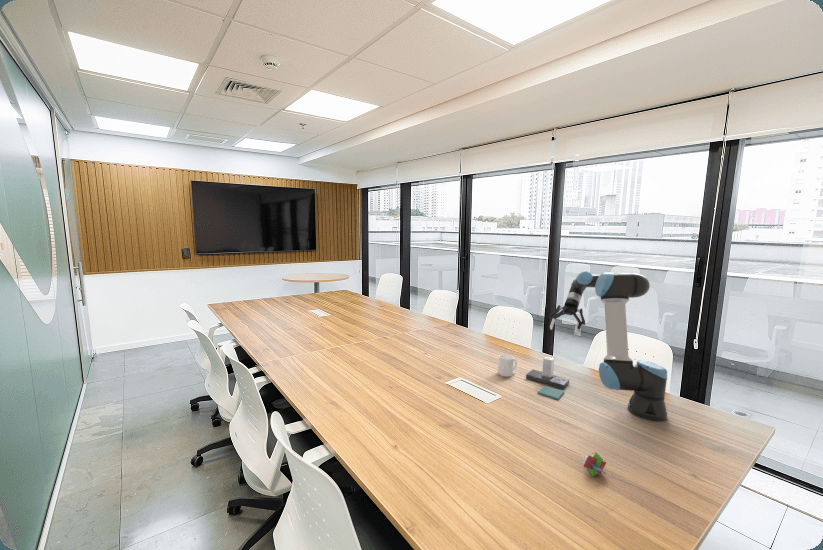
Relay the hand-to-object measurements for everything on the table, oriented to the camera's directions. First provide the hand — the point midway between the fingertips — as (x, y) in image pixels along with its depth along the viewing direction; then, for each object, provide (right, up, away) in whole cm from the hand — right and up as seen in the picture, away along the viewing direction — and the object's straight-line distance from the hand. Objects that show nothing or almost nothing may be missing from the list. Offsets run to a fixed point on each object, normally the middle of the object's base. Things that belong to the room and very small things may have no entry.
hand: (562, 330), depth 202 cm
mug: (-32, -25, 0) cm, 40 cm away
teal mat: (-16, -28, -24) cm, 40 cm away
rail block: (-12, -26, -9) cm, 30 cm away
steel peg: (-12, -26, -9) cm, 30 cm away
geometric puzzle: (-25, -35, -83) cm, 94 cm away
